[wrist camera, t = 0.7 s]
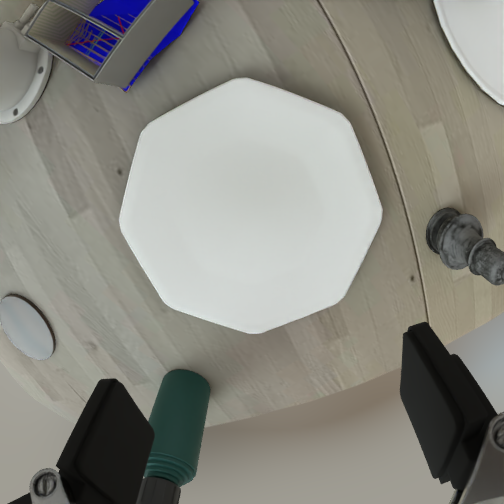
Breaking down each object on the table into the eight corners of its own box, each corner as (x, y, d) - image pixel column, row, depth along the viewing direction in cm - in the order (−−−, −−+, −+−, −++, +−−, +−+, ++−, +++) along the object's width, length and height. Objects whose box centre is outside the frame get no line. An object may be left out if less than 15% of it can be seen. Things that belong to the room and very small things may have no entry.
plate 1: (311, 344, 35) (313, 352, 34) (112, 278, 33) (107, 284, 32) (406, 147, 27) (412, 148, 26) (171, 58, 25) (166, 55, 23)
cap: (154, 473, 23) (147, 504, 20) (188, 489, 24) (183, 519, 21) (135, 481, 24) (127, 508, 21) (167, 496, 25) (161, 523, 22)
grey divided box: (20, 38, 16) (66, 49, 24) (94, 87, 19) (134, 94, 26) (93, -60, 13) (126, -29, 20) (184, -25, 15) (203, 9, 23)
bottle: (181, 361, 37) (142, 492, 20) (220, 389, 38) (202, 517, 21) (153, 384, 39) (112, 500, 21) (190, 408, 40) (165, 524, 23)
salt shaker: (414, 231, 30) (477, 283, 19) (450, 193, 28) (523, 228, 17) (440, 266, 31) (498, 323, 20) (473, 231, 30) (540, 275, 19)
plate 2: (402, 28, 22) (408, 25, 21) (449, -68, 16) (454, -72, 14) (527, 146, 26) (534, 147, 24) (556, 37, 19) (561, 37, 17)
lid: (10, 279, 34) (7, 281, 33) (65, 333, 36) (63, 336, 36) (-6, 321, 37) (-8, 323, 36) (43, 368, 39) (41, 370, 39)
